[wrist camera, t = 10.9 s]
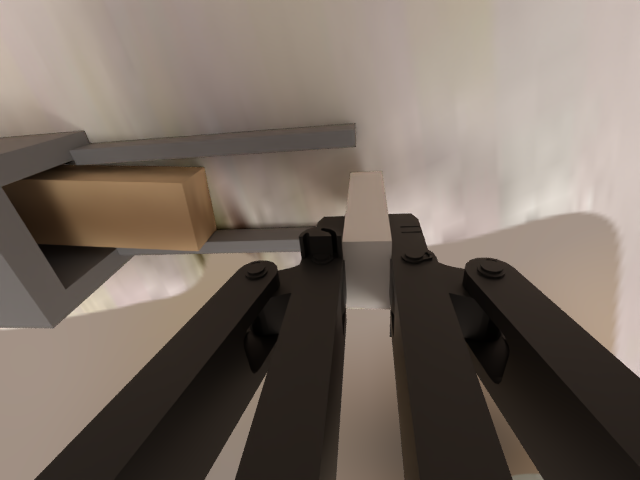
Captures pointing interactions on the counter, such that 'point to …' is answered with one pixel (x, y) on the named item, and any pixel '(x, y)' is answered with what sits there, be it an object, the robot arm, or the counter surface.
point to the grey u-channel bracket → (102, 262)
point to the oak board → (116, 206)
